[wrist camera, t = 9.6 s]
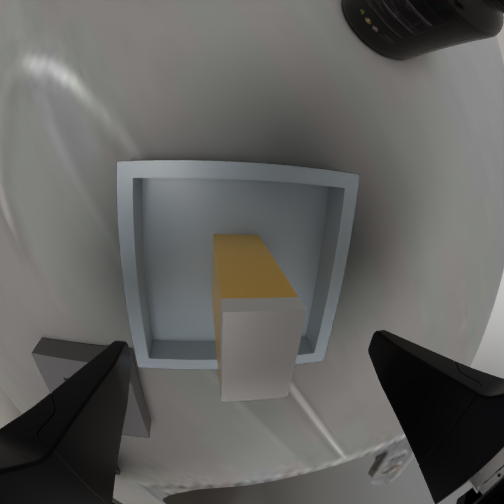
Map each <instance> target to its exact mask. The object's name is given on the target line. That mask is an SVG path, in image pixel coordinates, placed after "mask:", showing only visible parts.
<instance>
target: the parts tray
mask: <svg viewBox="0 0 504 504" xmlns="http://www.w3.org/2000/svg"><path fill="white" fill-rule="evenodd" d="M359 176H360V175H357V174H352V173H346V172H340V171H334V170H326V169H318V168H310V167H301V166H291V165H281V164H269V163H256V162H240V161H219V160H130V161H120V162H117V208H118V230H119V244H120V256H121V266H122V275H123V284H124V291H125V299H126V305H127V312H128V318H129V324H130V329H131V335H132V340H133V345H134V350H135V354H136V359H137V363H138V367H144V368H165V369H218V363H217V353H216V342H215V331H214V318H213V305H212V266H213V234H238V235H259V237H260V238H261V240H262V241H263V243H264V244H265V246H266V247H267V249H268V250H269V252H270V254H271V255H272V257H273V258H274V260H275V261H276V263H277V264H278V266H279V267H280V269H281V270H282V272H283V274H284V275H285V277H286V278H287V280H288V281H289V283H290V284H291V286H292V288H293V289H294V291H295V292H296V294H297V295H298V297H299V298H300V300H301V302H302V303H303V305H304V306H305V308H306V315H305V320H304V325H303V330H302V335H301V340H300V345H299V350H298V354H297V359H296V364H302V363H310V362H318V361H323V359H324V355H325V352H326V348H327V345H328V341H329V337H330V333H331V329H332V325H333V321H334V317H335V313H336V309H337V305H338V300H339V296H340V291H341V287H342V282H343V277H344V272H345V267H346V262H347V257H348V251H349V246H350V240H351V234H352V228H353V222H354V215H355V208H356V201H357V193H358V185H359Z"/></svg>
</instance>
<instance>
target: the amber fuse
mask: <svg viewBox="0 0 504 504" xmlns="http://www.w3.org/2000/svg"><path fill="white" fill-rule="evenodd" d="M212 305H213V318H214V331H215V342H216V353H217V363H218V373H219V383H220V392H221V401H222V402H232V401H249V400H262V399H273V398H282V397H288V394H289V390H290V385H291V381H292V377H293V372H294V368H295V364H296V359H297V354H298V350H299V345H300V340H301V335H302V330H303V325H304V320H305V315H306V308H305V306H304V305H303V303H302V302H301V300H300V298H299V297H298V295H297V294H296V292H295V291H294V289H293V288H292V286H291V284H290V283H289V281H288V280H287V278H286V277H285V275H284V274H283V272H282V270H281V269H280V267H279V266H278V264H277V263H276V261H275V260H274V258H273V257H272V255H271V254H270V252H269V250H268V249H267V247H266V246H265V244H264V243H263V241H262V240H261V238H260V237H259V235H238V234H213V266H212Z"/></svg>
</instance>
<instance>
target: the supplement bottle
mask: <svg viewBox="0 0 504 504" xmlns="http://www.w3.org/2000/svg"><path fill="white" fill-rule="evenodd" d="M343 8H344V12H345V15H346V18H347V20H348V22H349V23H350V25H351V27H352V28H353V29H354V31H355V32H356V33H357V34H358V35H359V37H360V38H361V39H362V40H363V41H365V42H366V43H367V44H368V45H369V46H371V47H372V48H374V49H375V50H377V51H378V52H380V53H382V54H384V55H386V56H389V57H392V58H397V59H408V58H413V57H416V56H419V55H423V54H426V53H429V52H433V51H436V50H440V49H443V48H447V47H451V46H455V45H459V44H463V43H467V42H472V41H476V40H481V39H486V38H490V37H494V36H496V35H497V34H498V33H499V32H500V30H501V29H502V26H503V19H504V17H503V13H504V0H343Z"/></svg>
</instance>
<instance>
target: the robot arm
mask: <svg viewBox="0 0 504 504" xmlns="http://www.w3.org/2000/svg"><path fill="white" fill-rule="evenodd" d="M368 352H369V355H370V358H371V361H372V363H373V366H374V368H375V371H376V373H377V376H378V379H379V381H380V384H381V386H382V388H383V390H384V392H385V394H386V396H387V398H388V400H389V402H390V404H391V406H392V408H393V410H394V412H395V414H396V416H397V418H398V420H399V423H400V425H401V427H402V429H403V431H404V433H405V435H406V437H407V440H408V442H409V444H410V446H411V448H412V451H413V453H414V455H415V457H416V459H417V462H418V464H419V467H420V469H421V471H422V474H423V476H424V479H425V481H426V483H427V486H428V488H429V490H430V493H431V496H432V498H433V501H434V503H435V504H437V503H439V502H440V501H442V500H443V499H445V498H446V497H448V496H449V495H451V494H452V493H454V492H455V491H456V490H458V489H459V488H460V487H462V486H463V485H464V484H466V483H467V482H469V483H470V485H471V486H472V488H471V489H470V490H469V491H467V492H466V493H465V494H464V495H462V496H461V497H460V498H458V499H457V503H456V504H504V379H502V378H499V377H496V376H493V375H490V374H487V373H484V372H481V371H478V370H476V369H473V368H470V367H468V366H465V365H463V364H461V363H458V362H456V361H455V362H454V360H451V359H449V358H447V357H444V356H442V355H440V354H437V353H435V352H433V351H431V350H428V349H426V348H424V347H421V346H419V345H417V344H415V343H412V342H410V341H408V340H406V339H403V338H401V337H399V336H397V335H394V334H392V333H390V332H388V331H385V330H381V331H376V332H375V333H374V334H373V337H372V340H371V343H370V345H369V349H368ZM130 375H131V357H130V353H129V348H128V344H127V343H126V342H125V341H114V342H113V343H112V344H110V345H109V346H108V347H107V348H105V349H104V350H103V351H102V352H100V353H99V354H98V355H97V356H95V357H94V358H93V359H92V360H90V361H89V362H88V363H87V364H85V365H84V366H83V367H82V368H81V369H79V370H78V371H77V372H76V373H74V374H73V375H72V376H71V377H69V378H68V379H67V380H66V381H65V382H63V383H62V384H61V385H60V386H58V387H57V388H56V389H55V390H54V391H52V394H51V393H50V394H49V395H47V396H46V397H45V398H44V399H43V400H41V401H40V402H39V403H37V404H36V405H35V406H34V407H32V408H31V409H29V410H28V411H26V412H25V413H24V414H22V415H21V416H19V417H18V418H16V419H15V420H13V421H11V422H10V423H8V424H7V425H5V426H4V427H2V428H1V429H0V504H114V503H112V499H113V490H114V482H115V474H118V475H119V474H120V470H119V469H118V467H117V460H118V454H119V447H120V442H121V436H122V430H123V425H124V420H125V415H126V410H127V405H128V396H129V385H130Z"/></svg>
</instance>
